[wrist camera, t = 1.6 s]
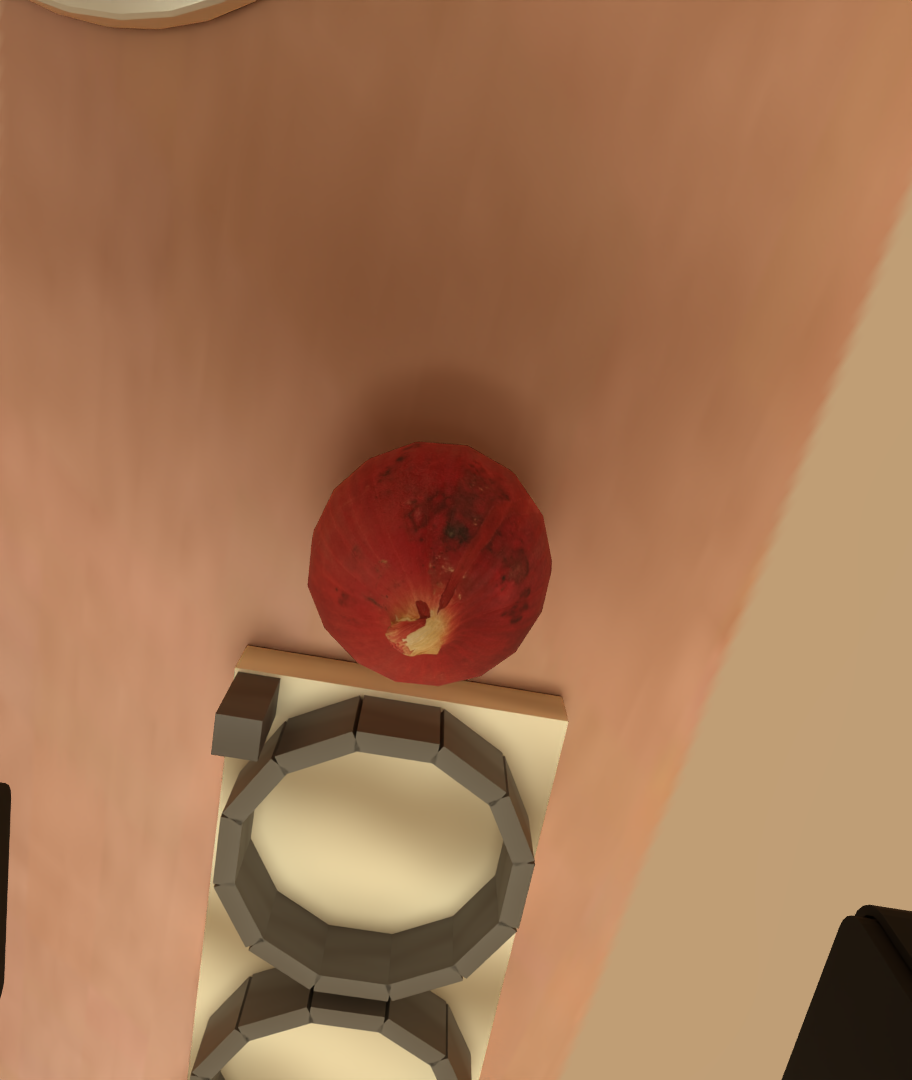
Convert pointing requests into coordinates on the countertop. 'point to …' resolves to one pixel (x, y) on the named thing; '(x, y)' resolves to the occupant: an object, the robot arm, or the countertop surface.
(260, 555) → the countertop surface
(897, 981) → the robot arm
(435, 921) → the cream flat ringed piece
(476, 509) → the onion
